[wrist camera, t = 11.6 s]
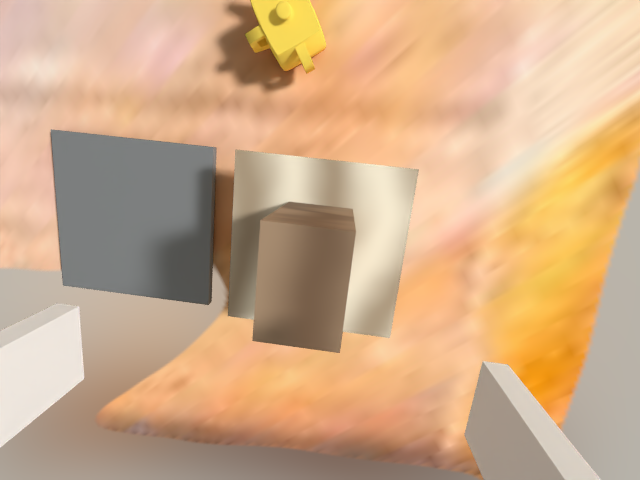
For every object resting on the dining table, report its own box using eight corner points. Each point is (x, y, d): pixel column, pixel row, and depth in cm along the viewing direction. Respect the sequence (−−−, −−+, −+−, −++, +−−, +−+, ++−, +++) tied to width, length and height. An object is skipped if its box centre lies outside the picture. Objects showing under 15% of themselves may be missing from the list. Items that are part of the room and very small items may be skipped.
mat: (69, 282, 36) (63, 285, 35) (57, 130, 32) (50, 129, 32) (211, 301, 35) (208, 304, 35) (216, 147, 32) (213, 147, 31)
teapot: (237, 10, 29) (214, -22, 24) (294, -27, 28) (283, -68, 23) (279, 97, 30) (266, 83, 25) (336, 65, 29) (333, 44, 24)
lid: (231, 311, 30) (175, 382, 20) (239, 150, 26) (177, 141, 17) (388, 332, 29) (409, 417, 19) (416, 169, 26) (458, 172, 16)
